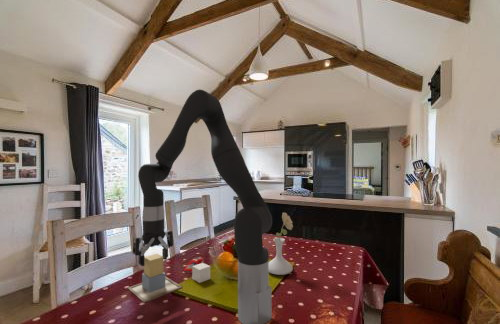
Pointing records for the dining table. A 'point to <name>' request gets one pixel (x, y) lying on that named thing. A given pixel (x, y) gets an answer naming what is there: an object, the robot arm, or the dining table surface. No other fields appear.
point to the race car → (193, 264)
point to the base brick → (153, 282)
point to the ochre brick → (153, 265)
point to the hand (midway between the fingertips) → (153, 262)
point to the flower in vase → (279, 263)
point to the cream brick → (201, 272)
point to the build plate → (147, 296)
